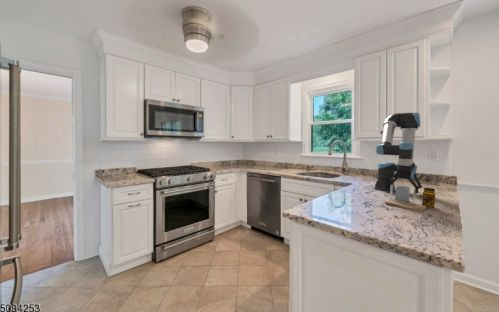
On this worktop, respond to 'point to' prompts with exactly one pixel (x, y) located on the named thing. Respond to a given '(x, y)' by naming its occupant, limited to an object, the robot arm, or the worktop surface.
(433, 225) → the worktop surface
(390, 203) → the board
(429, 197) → the condiment
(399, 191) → the block
